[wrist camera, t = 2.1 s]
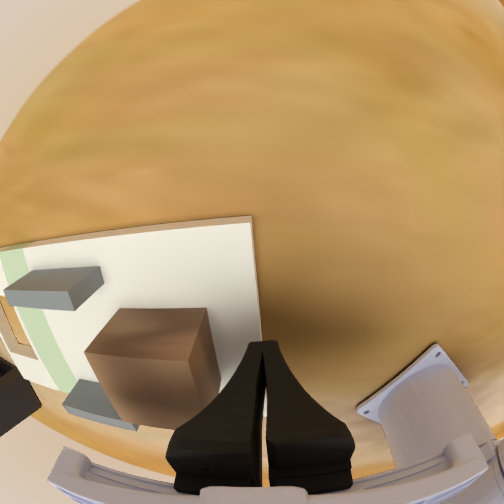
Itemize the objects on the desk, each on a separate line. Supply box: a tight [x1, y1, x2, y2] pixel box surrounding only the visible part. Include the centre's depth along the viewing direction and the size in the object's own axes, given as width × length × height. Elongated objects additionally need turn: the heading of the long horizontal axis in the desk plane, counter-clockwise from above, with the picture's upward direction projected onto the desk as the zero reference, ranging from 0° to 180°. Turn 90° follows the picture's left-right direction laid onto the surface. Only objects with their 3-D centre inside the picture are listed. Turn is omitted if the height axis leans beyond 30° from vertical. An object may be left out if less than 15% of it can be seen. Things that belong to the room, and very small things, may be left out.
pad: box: [0, 241, 77, 393], centre depth 15 cm, size 4×13×2 cm, turn 5°
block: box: [84, 307, 221, 430], centre depth 12 cm, size 5×5×4 cm
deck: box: [0, 216, 267, 431], centre depth 14 cm, size 24×13×4 cm, turn 95°
